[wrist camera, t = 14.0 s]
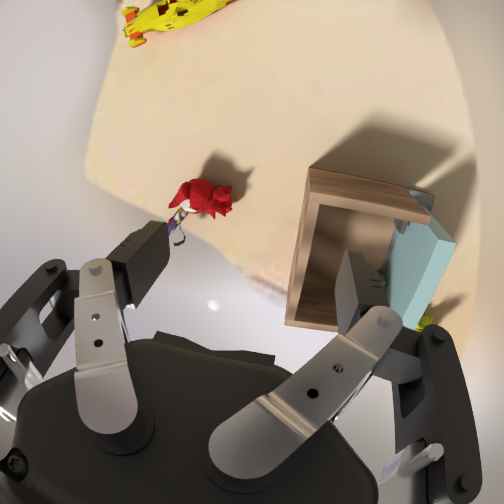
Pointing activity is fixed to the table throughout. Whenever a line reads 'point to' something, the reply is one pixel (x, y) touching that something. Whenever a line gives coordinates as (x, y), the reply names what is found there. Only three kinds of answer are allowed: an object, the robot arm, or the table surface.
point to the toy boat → (166, 16)
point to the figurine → (199, 202)
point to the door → (417, 269)
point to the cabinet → (344, 238)
